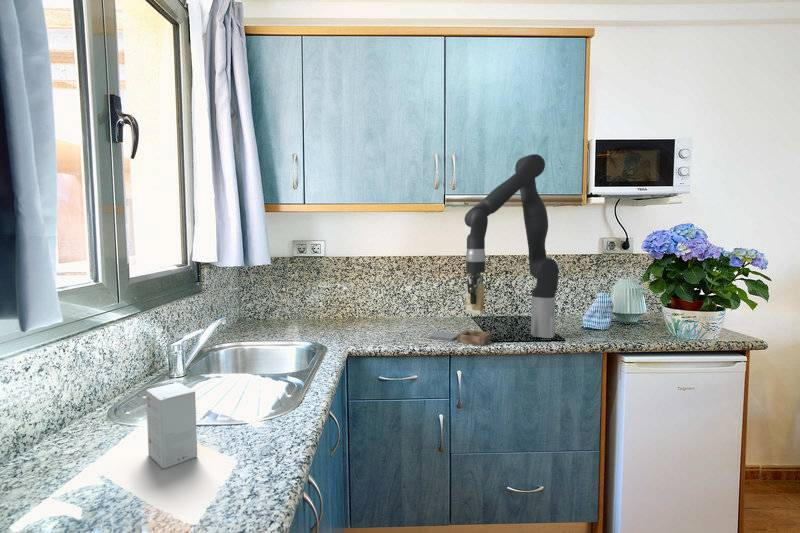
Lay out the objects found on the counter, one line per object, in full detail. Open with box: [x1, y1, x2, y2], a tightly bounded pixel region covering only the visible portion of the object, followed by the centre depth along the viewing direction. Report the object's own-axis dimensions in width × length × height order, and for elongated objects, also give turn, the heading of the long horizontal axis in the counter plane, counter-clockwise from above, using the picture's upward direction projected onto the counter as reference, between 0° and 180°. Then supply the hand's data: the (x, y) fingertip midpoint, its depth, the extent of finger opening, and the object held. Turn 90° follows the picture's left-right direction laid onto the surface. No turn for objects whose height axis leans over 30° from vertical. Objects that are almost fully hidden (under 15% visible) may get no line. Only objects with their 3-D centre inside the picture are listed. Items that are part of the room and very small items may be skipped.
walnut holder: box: [456, 329, 492, 347], centre depth 175 cm, size 11×11×3 cm
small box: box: [145, 381, 198, 470], centre depth 84 cm, size 8×6×13 cm
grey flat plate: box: [428, 330, 460, 342], centre depth 182 cm, size 10×10×1 cm
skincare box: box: [465, 282, 486, 316], centre depth 174 cm, size 6×4×12 cm
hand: (475, 302), depth 174 cm, fingers closed on skincare box, 4 cm apart
